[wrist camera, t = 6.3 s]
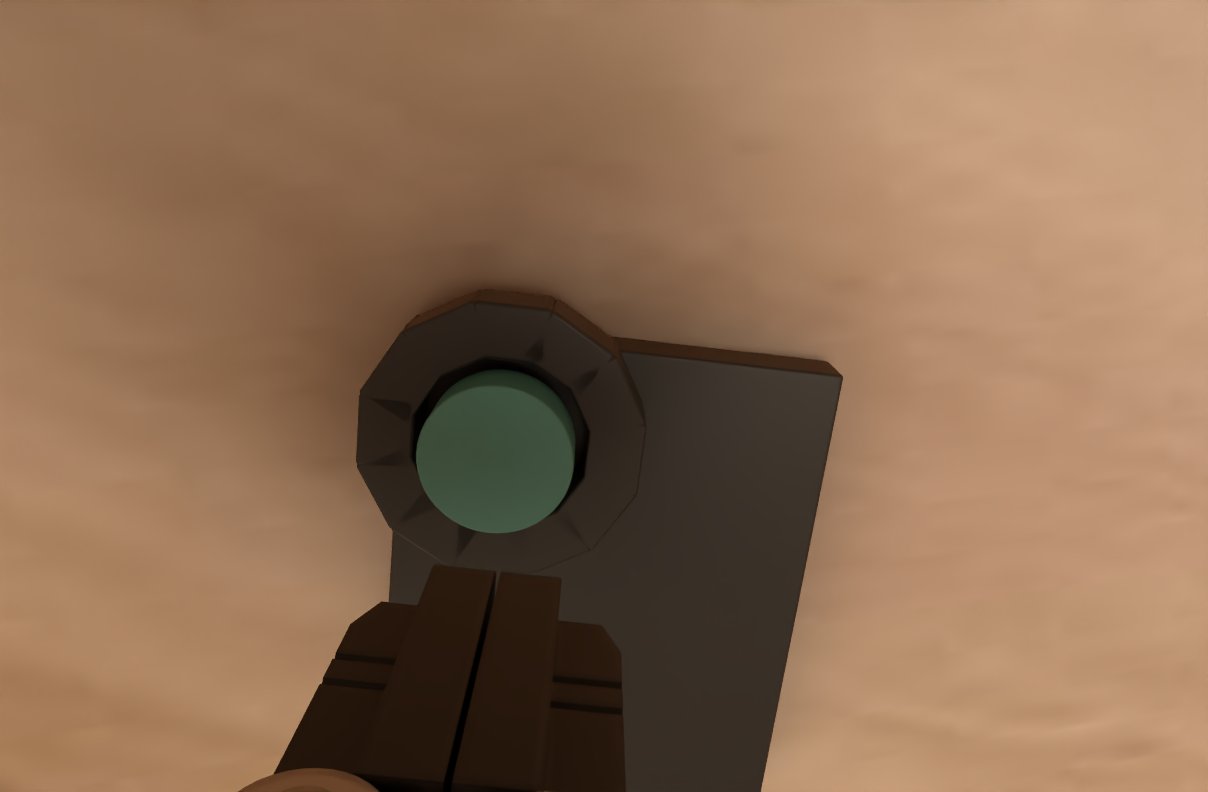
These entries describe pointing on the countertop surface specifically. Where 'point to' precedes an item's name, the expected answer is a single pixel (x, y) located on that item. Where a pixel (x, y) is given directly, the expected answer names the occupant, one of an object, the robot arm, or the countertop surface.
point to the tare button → (497, 451)
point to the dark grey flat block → (633, 513)
